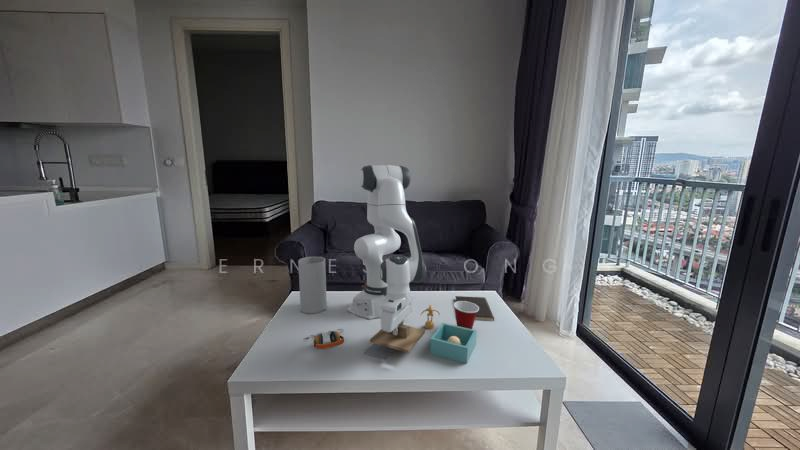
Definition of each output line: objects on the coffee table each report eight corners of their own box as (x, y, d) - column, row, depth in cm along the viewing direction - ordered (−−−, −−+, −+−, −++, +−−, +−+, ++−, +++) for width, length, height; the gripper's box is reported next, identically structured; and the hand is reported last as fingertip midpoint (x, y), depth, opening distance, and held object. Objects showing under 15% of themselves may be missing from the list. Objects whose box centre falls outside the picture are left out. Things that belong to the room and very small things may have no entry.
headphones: (341, 322, 141) (353, 333, 123) (342, 334, 141) (354, 347, 123) (301, 330, 135) (308, 342, 116) (302, 342, 135) (309, 357, 116)
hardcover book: (459, 320, 151) (459, 315, 151) (455, 300, 174) (455, 296, 173) (494, 321, 150) (494, 317, 149) (485, 301, 172) (485, 297, 172)
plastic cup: (478, 339, 133) (479, 312, 131) (451, 336, 135) (452, 309, 133) (477, 326, 144) (479, 301, 142) (452, 324, 146) (453, 299, 144)
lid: (369, 342, 121) (369, 329, 121) (389, 323, 136) (389, 312, 135) (408, 352, 115) (408, 339, 114) (425, 332, 129) (425, 320, 128)
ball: (445, 350, 123) (445, 338, 122) (449, 344, 128) (449, 332, 127) (458, 353, 121) (458, 341, 120) (461, 347, 125) (462, 335, 125)
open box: (429, 355, 121) (430, 338, 120) (442, 338, 134) (442, 322, 132) (466, 366, 115) (467, 348, 114) (475, 346, 128) (476, 330, 126)
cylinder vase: (327, 302, 167) (326, 256, 163) (325, 313, 155) (323, 263, 151) (302, 304, 166) (300, 256, 161) (298, 315, 154) (296, 264, 149)
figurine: (438, 327, 143) (439, 301, 141) (440, 333, 137) (441, 307, 135) (419, 326, 143) (420, 301, 141) (420, 333, 137) (421, 307, 135)
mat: (363, 353, 122) (363, 352, 122) (386, 332, 138) (386, 330, 138) (411, 368, 114) (411, 366, 114) (430, 343, 130) (430, 342, 130)
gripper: (402, 287, 133) (402, 319, 135) (377, 306, 115) (378, 342, 117) (416, 290, 130) (416, 322, 133) (393, 310, 112) (393, 346, 115)
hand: (398, 332), depth 125 cm, fingers closed on lid, 2 cm apart
